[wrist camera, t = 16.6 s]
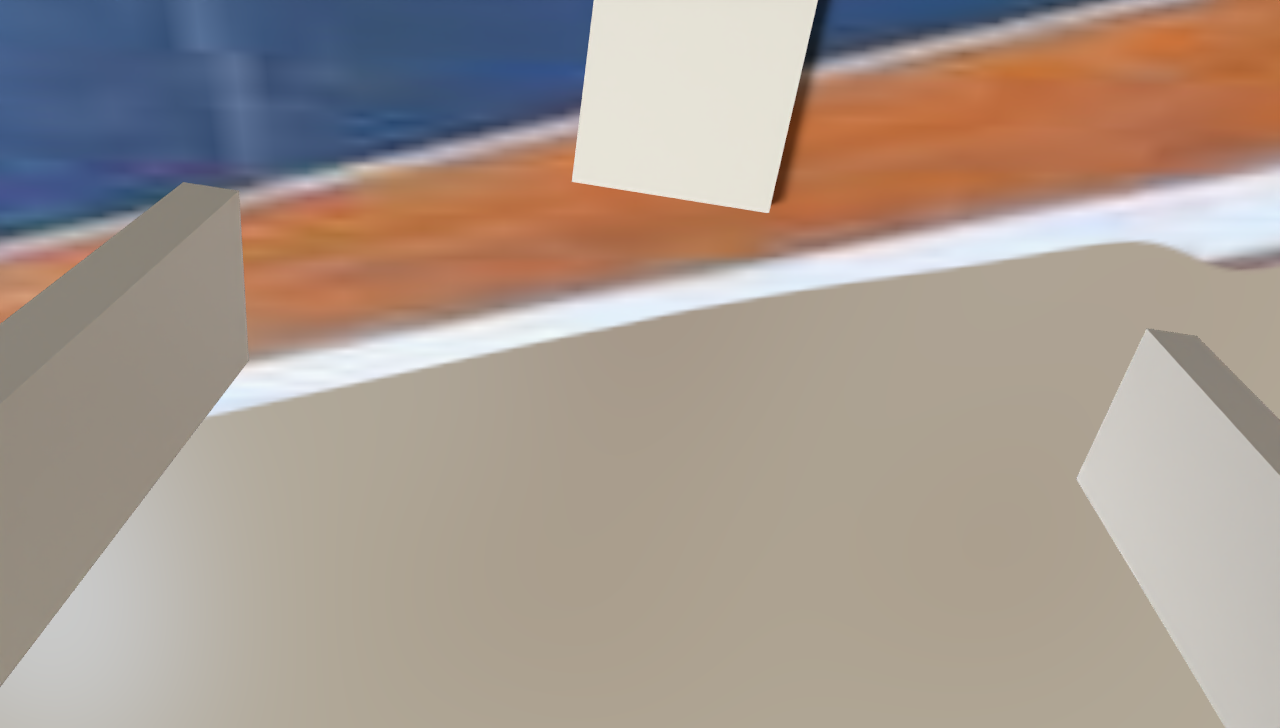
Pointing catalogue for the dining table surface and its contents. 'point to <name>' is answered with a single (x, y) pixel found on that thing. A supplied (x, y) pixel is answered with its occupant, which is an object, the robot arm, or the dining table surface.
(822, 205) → the dining table surface
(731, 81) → the pad
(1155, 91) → the dining table surface
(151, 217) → the robot arm
